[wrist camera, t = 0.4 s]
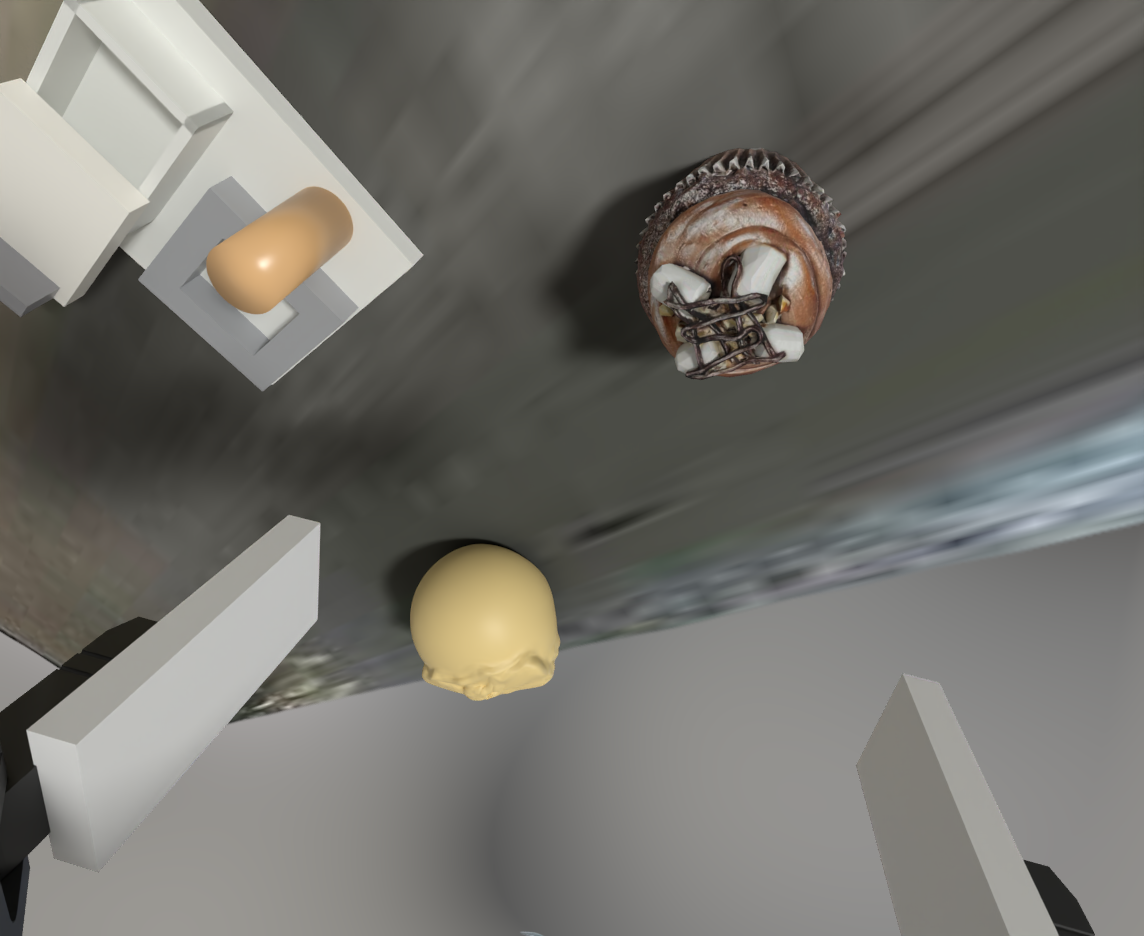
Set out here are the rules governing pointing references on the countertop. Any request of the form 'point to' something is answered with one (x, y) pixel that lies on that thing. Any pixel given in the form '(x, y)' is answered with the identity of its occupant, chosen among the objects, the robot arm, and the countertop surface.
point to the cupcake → (740, 264)
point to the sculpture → (485, 623)
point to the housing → (220, 181)
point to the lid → (54, 204)
